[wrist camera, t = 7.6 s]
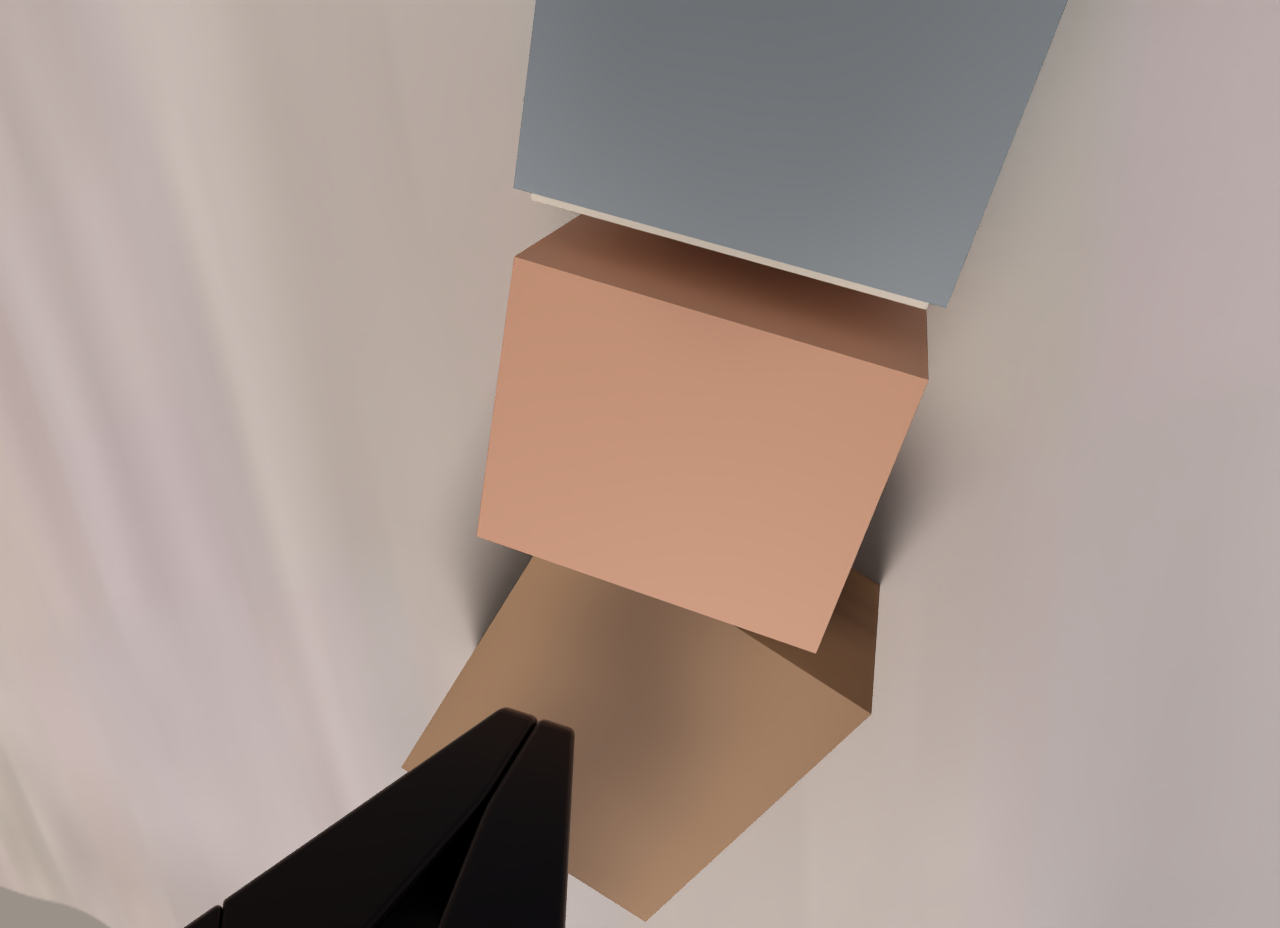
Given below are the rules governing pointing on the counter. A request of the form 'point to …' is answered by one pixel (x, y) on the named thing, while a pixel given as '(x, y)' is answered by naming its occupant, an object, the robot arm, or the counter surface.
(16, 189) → the counter surface
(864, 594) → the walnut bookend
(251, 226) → the counter surface
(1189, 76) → the counter surface
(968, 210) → the light blue block
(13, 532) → the counter surface
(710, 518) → the terracotta clay cube
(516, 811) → the robot arm
